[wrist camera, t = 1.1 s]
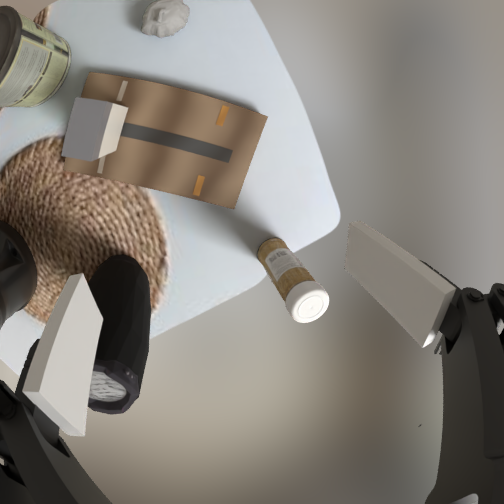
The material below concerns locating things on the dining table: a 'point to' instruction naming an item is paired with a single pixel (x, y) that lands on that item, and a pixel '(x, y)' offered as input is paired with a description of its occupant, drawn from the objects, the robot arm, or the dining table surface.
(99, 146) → the fader knob
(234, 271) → the dining table surface
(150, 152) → the fader board
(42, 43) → the coffee can
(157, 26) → the garlic
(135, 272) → the portable speaker
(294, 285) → the sprinkles bottle
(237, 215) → the dining table surface
